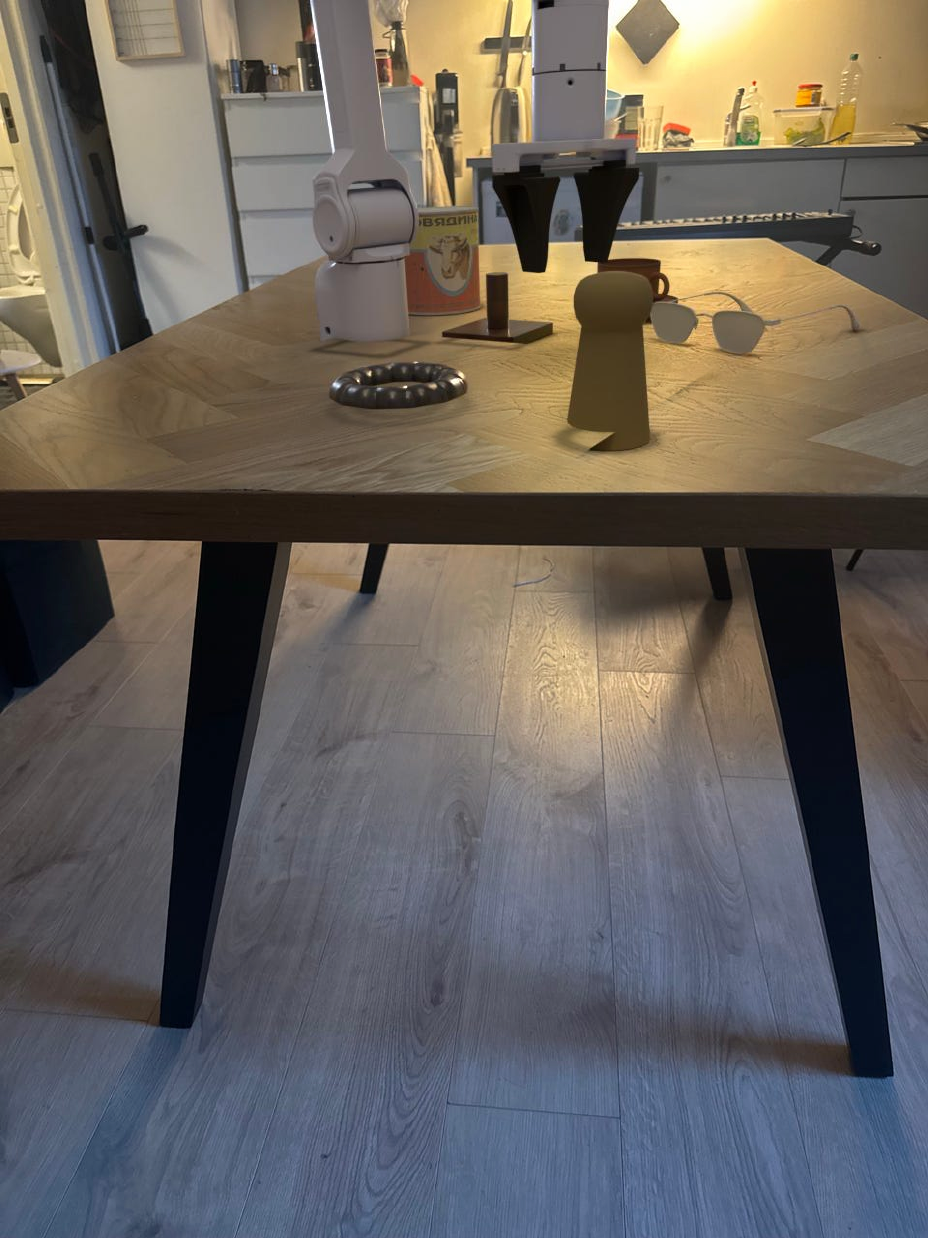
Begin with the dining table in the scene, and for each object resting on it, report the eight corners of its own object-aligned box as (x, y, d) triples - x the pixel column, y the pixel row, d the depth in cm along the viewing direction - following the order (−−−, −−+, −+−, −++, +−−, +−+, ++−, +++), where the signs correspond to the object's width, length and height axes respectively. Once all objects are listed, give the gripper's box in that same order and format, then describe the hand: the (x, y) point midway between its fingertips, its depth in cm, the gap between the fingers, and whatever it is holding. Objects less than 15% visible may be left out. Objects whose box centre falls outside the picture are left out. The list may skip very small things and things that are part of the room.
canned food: (415, 318, 108) (409, 213, 102) (385, 307, 117) (377, 210, 111) (495, 309, 112) (493, 207, 106) (460, 298, 121) (456, 204, 115)
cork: (557, 428, 63) (559, 269, 58) (637, 423, 64) (647, 264, 58) (573, 453, 58) (577, 280, 53) (660, 447, 58) (673, 275, 53)
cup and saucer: (691, 311, 105) (696, 256, 102) (655, 328, 96) (658, 269, 93) (601, 306, 110) (603, 254, 107) (559, 322, 102) (560, 266, 99)
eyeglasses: (641, 338, 91) (643, 299, 89) (743, 315, 101) (747, 279, 99) (766, 359, 80) (771, 314, 78) (867, 330, 90) (875, 290, 88)
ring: (304, 415, 69) (300, 383, 68) (387, 384, 78) (384, 355, 76) (416, 431, 64) (414, 397, 63) (492, 396, 72) (492, 365, 71)
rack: (442, 342, 94) (438, 277, 90) (484, 328, 100) (482, 266, 97) (513, 348, 89) (512, 280, 86) (553, 333, 96) (553, 269, 92)
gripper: (539, 66, 58) (539, 280, 64) (671, 70, 66) (658, 259, 73) (471, 76, 63) (477, 274, 69) (601, 78, 71) (595, 255, 77)
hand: (565, 266), depth 71 cm, fingers open, 7 cm apart
